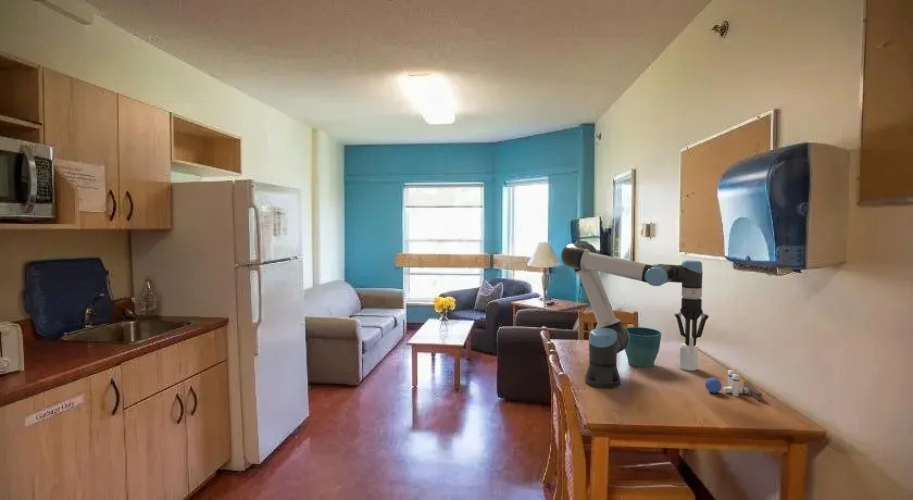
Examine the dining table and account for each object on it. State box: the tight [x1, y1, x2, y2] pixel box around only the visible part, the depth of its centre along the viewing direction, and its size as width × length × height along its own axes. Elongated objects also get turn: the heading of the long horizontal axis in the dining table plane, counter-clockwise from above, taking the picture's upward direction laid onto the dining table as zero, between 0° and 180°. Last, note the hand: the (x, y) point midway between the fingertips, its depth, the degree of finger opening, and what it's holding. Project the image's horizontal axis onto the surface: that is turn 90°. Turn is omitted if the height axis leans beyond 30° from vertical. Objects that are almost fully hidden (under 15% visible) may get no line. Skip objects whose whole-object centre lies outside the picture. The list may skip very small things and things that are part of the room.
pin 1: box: [727, 369, 736, 387], centre depth 187 cm, size 2×2×8 cm
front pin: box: [723, 386, 750, 395], centre depth 184 cm, size 2×2×8 cm
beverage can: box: [678, 341, 699, 372], centre depth 215 cm, size 8×8×12 cm
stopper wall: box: [742, 380, 763, 402], centre depth 183 cm, size 2×14×3 cm, turn 166°
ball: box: [704, 377, 723, 394], centre depth 185 cm, size 6×6×6 cm
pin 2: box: [731, 373, 740, 398], centre depth 182 cm, size 2×2×8 cm
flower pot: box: [624, 326, 663, 369], centre depth 222 cm, size 18×18×17 cm
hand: (690, 353), depth 187 cm, fingers closed
